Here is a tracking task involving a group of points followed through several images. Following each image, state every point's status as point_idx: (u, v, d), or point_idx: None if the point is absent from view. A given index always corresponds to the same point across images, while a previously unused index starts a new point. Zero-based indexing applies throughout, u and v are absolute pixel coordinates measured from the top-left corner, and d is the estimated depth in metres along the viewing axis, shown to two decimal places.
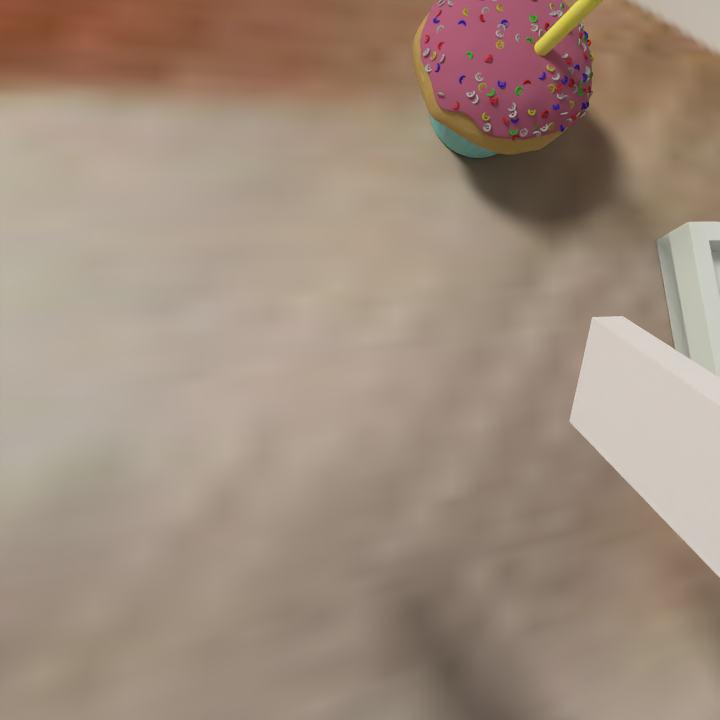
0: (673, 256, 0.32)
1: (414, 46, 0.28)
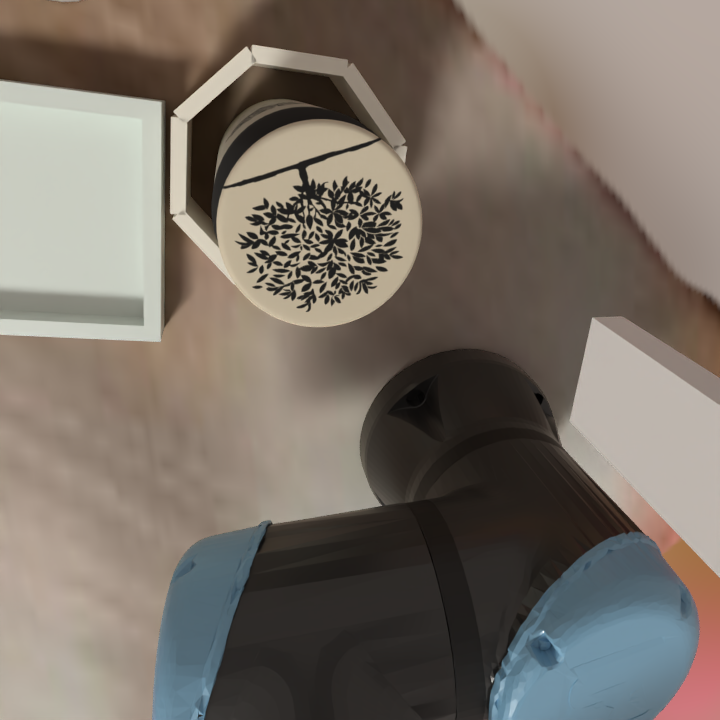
0: None
1: None
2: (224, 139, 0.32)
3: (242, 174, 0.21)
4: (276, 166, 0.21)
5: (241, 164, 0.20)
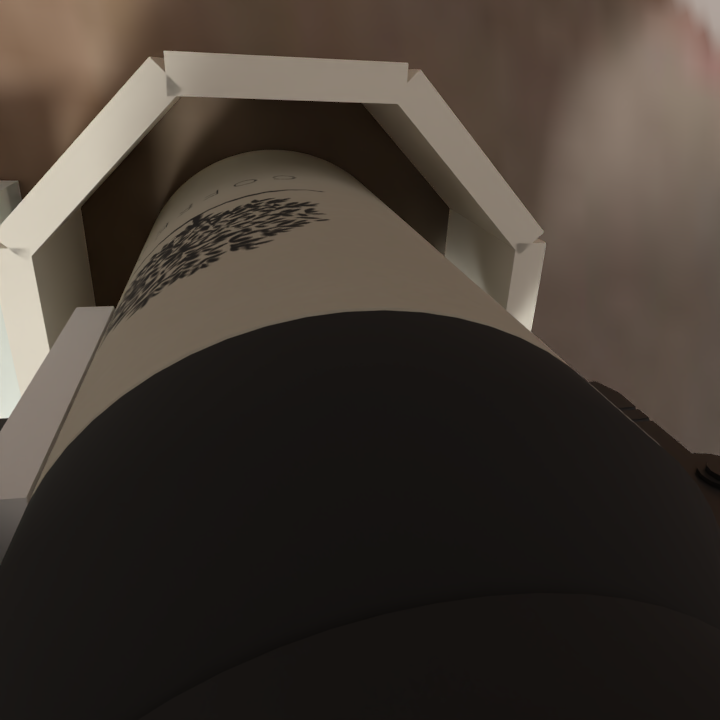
0: None
1: None
2: None
3: None
4: None
5: None
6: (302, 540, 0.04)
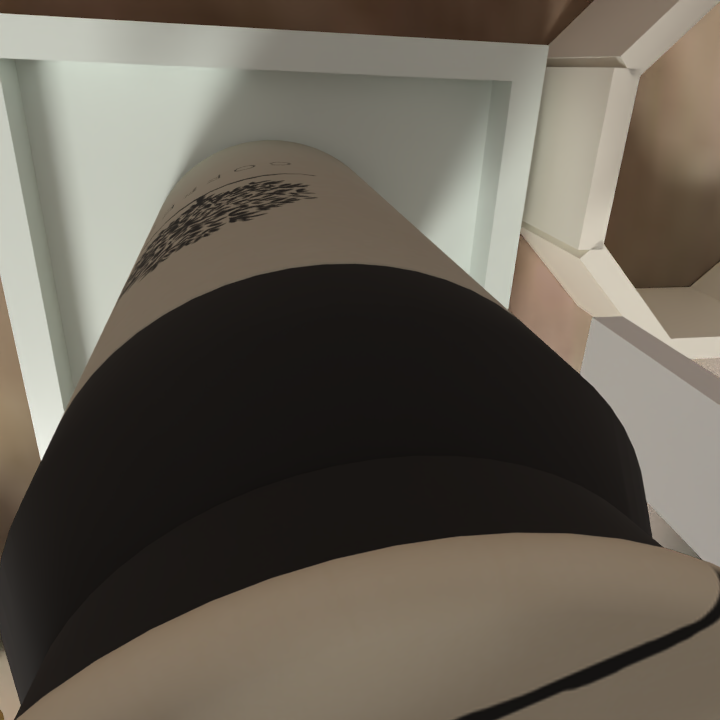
0: None
1: None
2: None
3: None
4: None
5: None
6: (278, 419, 0.05)
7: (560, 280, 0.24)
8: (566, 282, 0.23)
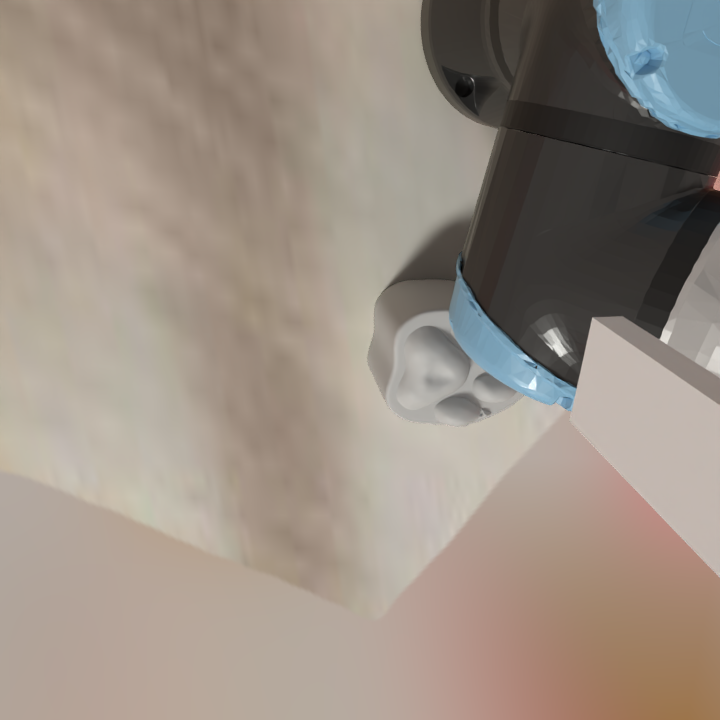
0: None
1: None
2: None
3: None
4: None
5: None
6: None
7: None
8: None
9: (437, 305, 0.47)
